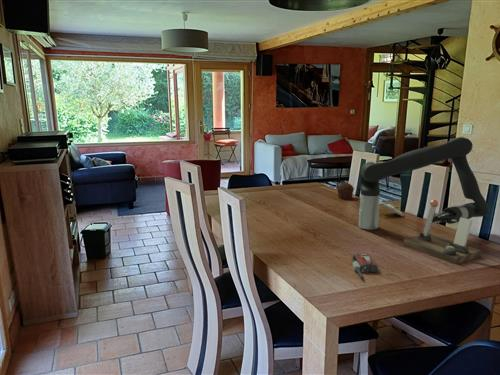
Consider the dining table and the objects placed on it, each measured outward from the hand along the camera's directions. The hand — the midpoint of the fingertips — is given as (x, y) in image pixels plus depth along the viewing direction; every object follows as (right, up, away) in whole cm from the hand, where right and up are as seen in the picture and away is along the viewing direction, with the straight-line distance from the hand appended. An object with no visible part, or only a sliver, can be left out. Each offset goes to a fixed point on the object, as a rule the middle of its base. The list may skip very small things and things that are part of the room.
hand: (430, 219), depth 174 cm
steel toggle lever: (-2, -7, 0) cm, 7 cm away
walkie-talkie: (-36, -17, -24) cm, 47 cm away
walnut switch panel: (+1, -13, -6) cm, 14 cm away
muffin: (-15, +7, +93) cm, 95 cm away
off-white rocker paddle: (+5, -9, -14) cm, 18 cm away
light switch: (0, -1, +51) cm, 51 cm away
